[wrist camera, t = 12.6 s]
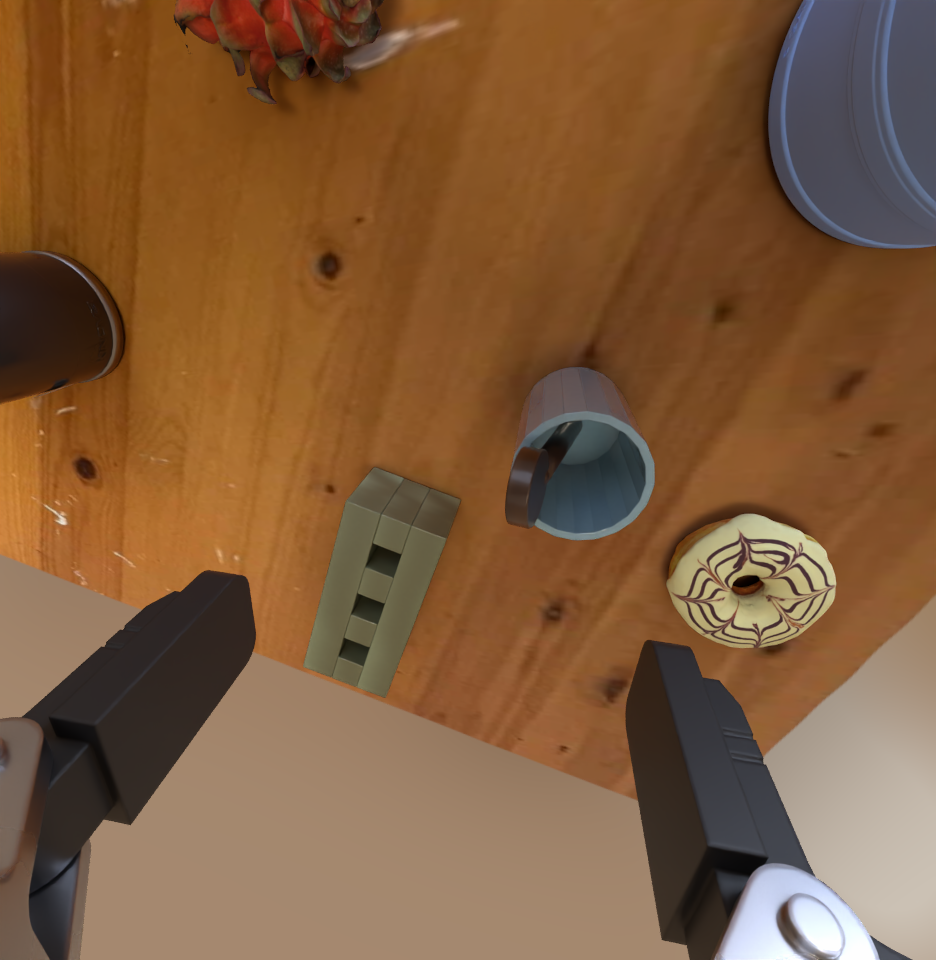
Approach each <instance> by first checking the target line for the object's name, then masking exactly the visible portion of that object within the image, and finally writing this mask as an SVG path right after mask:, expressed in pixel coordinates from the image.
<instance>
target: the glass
mask: <svg viewBox="0 0 936 960" xmlns="http://www.w3.org/2000/svg"><path fill="white" fill-rule="evenodd" d="M580 420H581V421H582V424H583V427H582V430H581V432H580V433H579V435H578V436H577V438H576V439H575V441H574V443H573V444H572V446H571V447H570V449H569V450H568V452H567V453H566V455H565V457H564V458H563V460H562V461H561V463H560V464H559V466H558V468H557V469H556V471H555V472H554V474H553V475H552V477H551V479H550V480H549V482H548V483H547V486H546V492H545V496H544V500H543V504H542V507H541V510H540V513H539V516H538V518H537V520H536V522H535V524H534V525H535V526H536V527H538V528H540V529H542V530H544V531H545V532H547V533H549V534H551V535H553V536H556V537H561V538H566V539H570V540H591V539H598V538H601V537H604V536H607V535H610V534H613V533H616V532H618V531H619V530H621V529H622V528H624V527H625V526H627V525H628V524H630V523H631V522H633V521H634V520H635V519H636V518H637V516H638V515H639V514H640V513H641V511H642V510H643V509H644V508H645V506H646V505H647V503H648V501H649V498H650V496H651V493H652V490H653V487H654V484H655V464H654V461H653V458H652V455H651V453H650V450H649V448H648V445H647V443H646V441H645V439H644V437H643V435H642V433H641V431H640V429H639V427H638V425H637V423H636V421H635V419H634V416H633V414H632V412H631V410H630V408H629V406H628V404H627V402H626V400H625V398H624V396H623V394H622V392H621V391H620V390H619V388H618V387H617V386H616V384H615V383H614V382H613V381H612V380H611V379H609V378H608V377H607V376H605V375H603V374H602V373H600V372H598V371H595V370H592V369H588V368H582V367H570V368H564V369H560V370H557V371H555V372H552V373H550V374H548V375H547V376H545V377H544V378H542V379H541V380H540V381H539V382H538V383H537V384H535V386H534V387H533V388H532V389H531V391H530V392H529V394H528V395H527V397H526V400H525V402H524V405H523V409H522V414H521V419H520V424H519V429H518V434H517V440H516V445H515V450H514V455H513V461H512V466H513V464H514V461H515V459H516V456H517V454H518V453H519V451H520V450H521V448H523V447H525V446H528V447H534V448H540V449H541V448H542V446H543V445H544V444H545V443H546V441H547V440H548V439H549V438H550V436H551V435H552V434H553V432H554V431H555V430H556V429H557V427H558V426H559V425H560V424H562V423H565V422H570V421H580ZM512 466H511V470H512ZM510 473H511V471H510Z"/></svg>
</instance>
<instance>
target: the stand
mask: <svg viewBox="0 0 936 960" xmlns="http://www.w3.org/2000/svg"><path fill="white" fill-rule="evenodd" d="M460 502H461V500H460V499H458V498H455V497H452V496H450V495H447V494H444V493H442V492H439V491H436V490H434V489H430V488H428V487H426V486H423V485H420V484H418V483H415V482H413V481H410V480H407V479H404V478H402V477H399V476H397V475H394V474H392V473H389V472H386V471H384V470H381V469H378V468H376V467H374V468H373V469H372V470H371V471H370V472H369V474H368V475H367V476H366V477H365V479H364V480H363V481H362V482H361V483H360V485H359V486H358V487H357V488H356V489H355V491H354V492H353V493H352V494H351V496H350V497H349V498H348V499H347V500H346V502H345V506H344V510H343V514H342V518H341V522H340V526H339V530H338V533H337V537H336V541H335V545H334V549H333V553H332V557H331V560H330V564H329V568H328V572H327V576H326V580H325V584H324V587H323V591H322V595H321V599H320V603H319V607H318V611H317V614H316V618H315V622H314V626H313V630H312V634H311V638H310V641H309V645H308V649H307V653H306V657H305V661H304V665H303V667H305V668H308V669H310V670H313V671H316V672H318V673H321V674H323V675H326V676H329V677H332V678H334V679H336V680H339V681H342V682H344V683H347V684H349V685H352V686H355V687H358V688H360V689H363V690H366V691H368V692H371V693H373V694H376V695H379V696H381V697H384V698H385V697H386V696H387V693H388V690H389V688H390V685H391V683H392V680H393V677H394V675H395V672H396V670H397V667H398V664H399V662H400V659H401V657H402V654H403V651H404V649H405V646H406V644H407V641H408V639H409V636H410V633H411V631H412V628H413V626H414V623H415V620H416V618H417V615H418V613H419V610H420V607H421V605H422V602H423V600H424V597H425V594H426V592H427V589H428V587H429V584H430V581H431V579H432V576H433V574H434V571H435V569H436V566H437V563H438V561H439V558H440V556H441V553H442V550H443V548H444V545H445V543H446V540H447V537H448V535H449V532H450V529H451V526H452V524H453V521H454V518H455V515H456V513H457V510H458V507H459V505H460Z"/></svg>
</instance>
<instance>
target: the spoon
mask: <svg viewBox="0 0 936 960" xmlns="http://www.w3.org/2000/svg"><path fill="white" fill-rule="evenodd" d="M582 427H583V424H582V421H581V420H580V421H570V422H565V423H562V424H560V425H559V426H558V427H557V429H556V430H555V431H554V432H553V434H552V435H551V436H550V438H549V439H548V440H547V441H546V443H545V444H544V445H543V446H542V448H541V449H540V448H534V447H528V446H525V447H523V448H521V450H520V451H519V453H518V454H517V456H516V459H515V461H514V464H513V466H512V470H511V473H510V477H509V481H508V486H507V492H506V501H505V514H506V520H507V522H508V523H509V524H511V525H515V526H519V527H524V528H528V529H529V528H532V527H533V526H534V524H535V522H536V520H537V518H538V516H539V513H540V510H541V507H542V504H543V500H544V496H545V492H546V486H547V483H548V482H549V480H550V479H551V477H552V475H553V474H554V472H555V471H556V469H557V468H558V466H559V464H560V463H561V461H562V460H563V458H564V457H565V455H566V453H567V452H568V450H569V449H570V447H571V446H572V444H573V443H574V441H575V439H576V438H577V436H578V435H579V433H580V432H581V430H582Z"/></svg>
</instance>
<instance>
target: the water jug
mask: <svg viewBox="0 0 936 960" xmlns="http://www.w3.org/2000/svg"><path fill="white" fill-rule="evenodd" d="M768 131H769V143H770V150H771V155H772V160H773V164H774V167H775V171H776V173H777V176H778V179H779V181H780V183H781V186H782V188H783V190H784V191H785V193H786V195H787V197H788V198H789V200H790V201H791V202H792V204H793V205H794V206H795V208H796V209H797V210H798V211H799V212H800V213H801V214H802V215H803V216H804V217H805V218H806V219H807V220H808V221H809V222H810V223H811V224H813V225H814V226H815V227H817V228H818V229H820V230H821V231H823V232H825V233H827V234H828V235H830V236H832V237H835V238H837V239H839V240H842V241H845V242H848V243H851V244H855V245H860V246H865V247H872V248H888V249H892V248H922V247H930V246H936V0H803V2H802V4H801V6H800V8H799V9H798V11H797V13H796V15H795V18H794V20H793V22H792V24H791V26H790V29H789V31H788V33H787V36H786V38H785V41H784V44H783V46H782V49H781V52H780V55H779V59H778V62H777V65H776V69H775V73H774V78H773V82H772V88H771V94H770V102H769V115H768Z"/></svg>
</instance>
